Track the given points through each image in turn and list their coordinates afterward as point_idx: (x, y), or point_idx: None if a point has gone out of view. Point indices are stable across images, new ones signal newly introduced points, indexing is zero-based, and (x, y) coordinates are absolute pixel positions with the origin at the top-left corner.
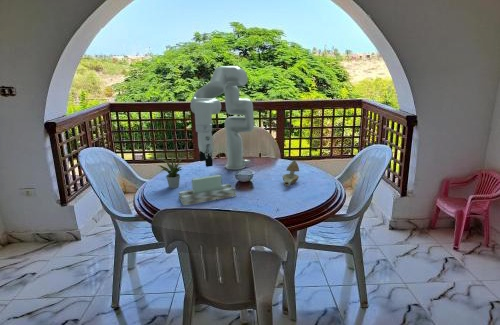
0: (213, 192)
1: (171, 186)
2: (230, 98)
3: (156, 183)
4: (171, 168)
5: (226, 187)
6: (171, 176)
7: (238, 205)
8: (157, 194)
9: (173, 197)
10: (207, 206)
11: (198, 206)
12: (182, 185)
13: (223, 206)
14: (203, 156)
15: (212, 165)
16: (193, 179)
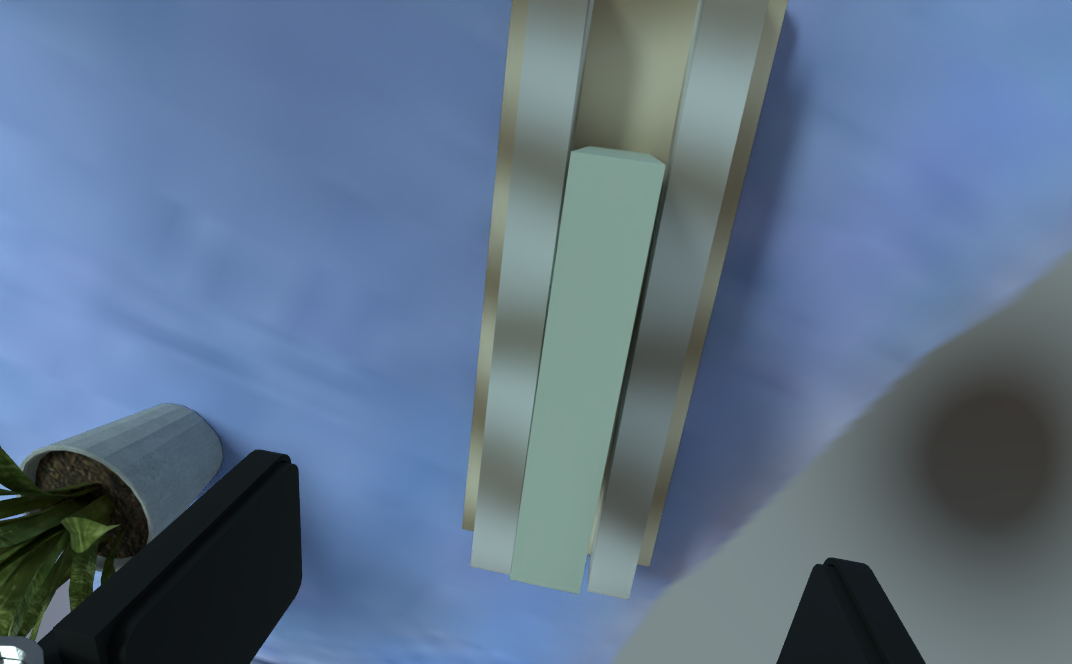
0: (696, 305)
1: (205, 485)
2: None
3: None
4: (40, 619)
5: (584, 46)
6: (118, 540)
7: (1056, 133)
8: (310, 601)
9: (433, 543)
10: (814, 415)
11: (754, 475)
12: (178, 374)
13: (938, 291)
14: (220, 615)
15: (864, 568)
16: (552, 578)
